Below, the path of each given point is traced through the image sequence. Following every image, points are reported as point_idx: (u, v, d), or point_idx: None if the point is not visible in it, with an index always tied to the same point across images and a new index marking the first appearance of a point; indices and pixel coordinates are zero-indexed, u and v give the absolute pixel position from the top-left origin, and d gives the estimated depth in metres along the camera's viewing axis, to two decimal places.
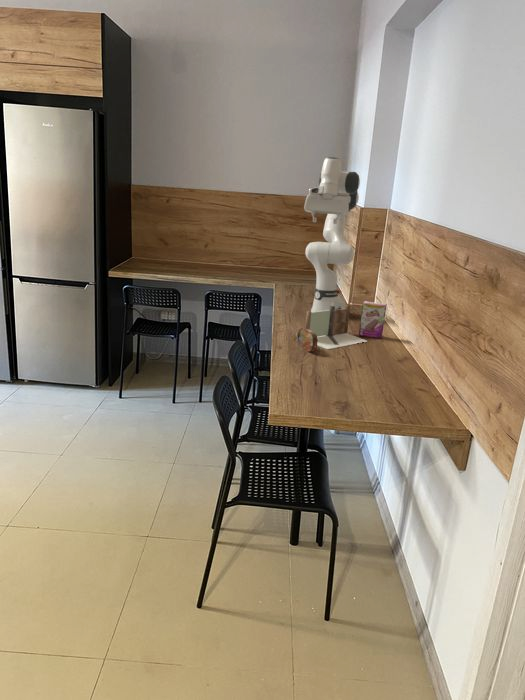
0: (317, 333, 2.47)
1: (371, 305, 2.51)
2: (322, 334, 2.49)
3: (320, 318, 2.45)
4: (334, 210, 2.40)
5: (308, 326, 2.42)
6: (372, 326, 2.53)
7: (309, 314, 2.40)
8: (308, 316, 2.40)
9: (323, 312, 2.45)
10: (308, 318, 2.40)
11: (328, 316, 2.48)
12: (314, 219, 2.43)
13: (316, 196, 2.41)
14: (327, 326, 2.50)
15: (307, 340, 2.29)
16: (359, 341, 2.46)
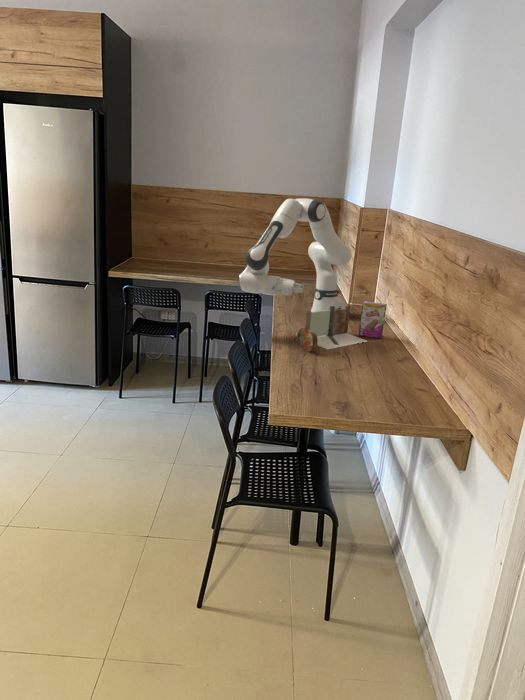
0: (317, 333, 2.47)
1: (371, 305, 2.51)
2: (322, 334, 2.49)
3: (320, 318, 2.45)
4: None
5: (308, 326, 2.42)
6: (372, 326, 2.53)
7: (309, 314, 2.40)
8: (308, 316, 2.40)
9: (323, 312, 2.45)
10: (308, 318, 2.40)
11: (328, 316, 2.48)
12: (301, 288, 2.47)
13: None
14: (327, 326, 2.50)
15: (307, 340, 2.29)
16: (359, 341, 2.46)
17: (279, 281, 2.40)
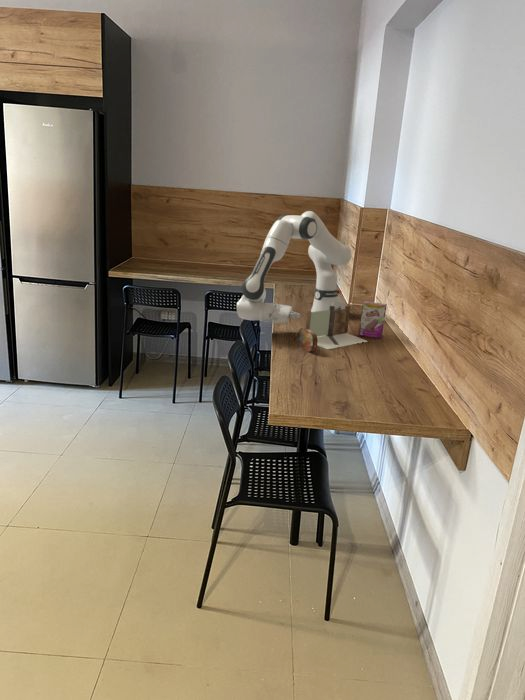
0: (317, 333, 2.47)
1: (371, 305, 2.51)
2: (322, 334, 2.49)
3: (320, 318, 2.45)
4: None
5: (308, 326, 2.42)
6: (372, 326, 2.53)
7: (309, 314, 2.40)
8: (308, 316, 2.40)
9: (323, 312, 2.45)
10: (308, 318, 2.40)
11: (328, 316, 2.48)
12: None
13: None
14: (327, 326, 2.50)
15: (307, 340, 2.29)
16: (359, 341, 2.46)
17: (276, 308, 2.44)
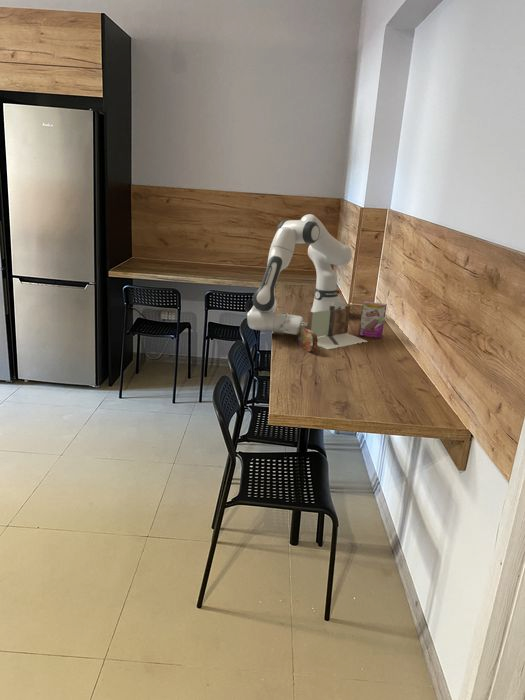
0: (318, 333, 2.46)
1: (371, 305, 2.51)
2: (323, 334, 2.49)
3: (321, 318, 2.45)
4: None
5: (310, 327, 2.41)
6: (372, 326, 2.53)
7: (311, 314, 2.39)
8: (310, 316, 2.39)
9: (324, 312, 2.45)
10: (310, 318, 2.40)
11: (328, 316, 2.48)
12: None
13: None
14: (327, 326, 2.49)
15: (307, 340, 2.29)
16: (359, 341, 2.46)
17: (286, 319, 2.44)
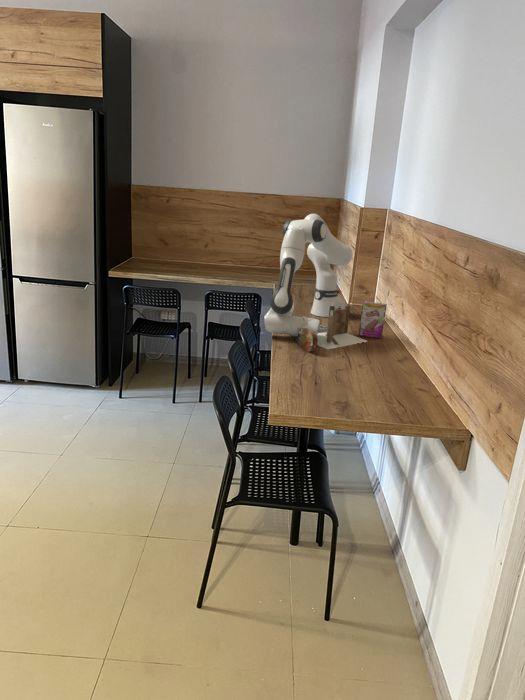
0: None
1: (371, 305, 2.51)
2: None
3: None
4: None
5: None
6: (372, 326, 2.53)
7: (333, 318, 2.35)
8: (332, 321, 2.35)
9: None
10: (332, 323, 2.35)
11: None
12: None
13: None
14: None
15: (307, 340, 2.29)
16: (359, 341, 2.46)
17: (304, 322, 2.41)
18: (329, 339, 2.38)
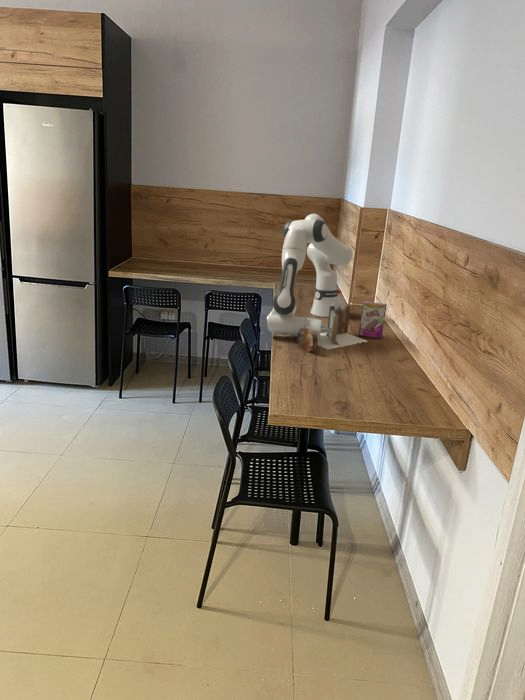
0: None
1: (371, 305, 2.51)
2: None
3: None
4: None
5: (336, 331, 2.37)
6: (372, 326, 2.53)
7: None
8: (337, 321, 2.35)
9: (334, 314, 2.44)
10: (337, 323, 2.35)
11: None
12: None
13: None
14: None
15: (307, 340, 2.29)
16: (359, 341, 2.46)
17: (307, 323, 2.40)
18: (334, 339, 2.38)
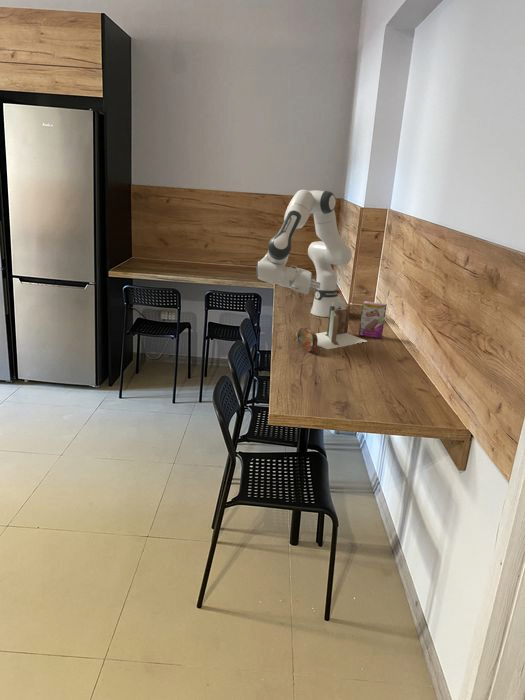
0: None
1: (371, 305, 2.51)
2: None
3: None
4: None
5: (336, 331, 2.37)
6: (372, 326, 2.53)
7: None
8: (337, 321, 2.35)
9: (334, 314, 2.44)
10: (337, 323, 2.35)
11: None
12: None
13: None
14: None
15: (307, 340, 2.29)
16: (359, 341, 2.46)
17: (297, 275, 2.37)
18: (334, 339, 2.38)
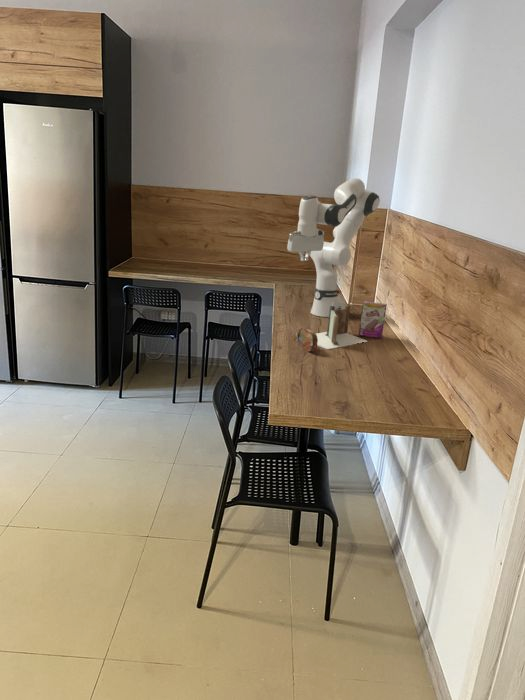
0: None
1: (371, 305, 2.51)
2: None
3: None
4: None
5: (336, 331, 2.37)
6: (372, 326, 2.53)
7: None
8: (337, 321, 2.35)
9: (334, 314, 2.44)
10: (337, 323, 2.35)
11: None
12: None
13: None
14: None
15: (307, 340, 2.29)
16: (359, 341, 2.46)
17: (307, 237, 2.49)
18: (334, 339, 2.38)
